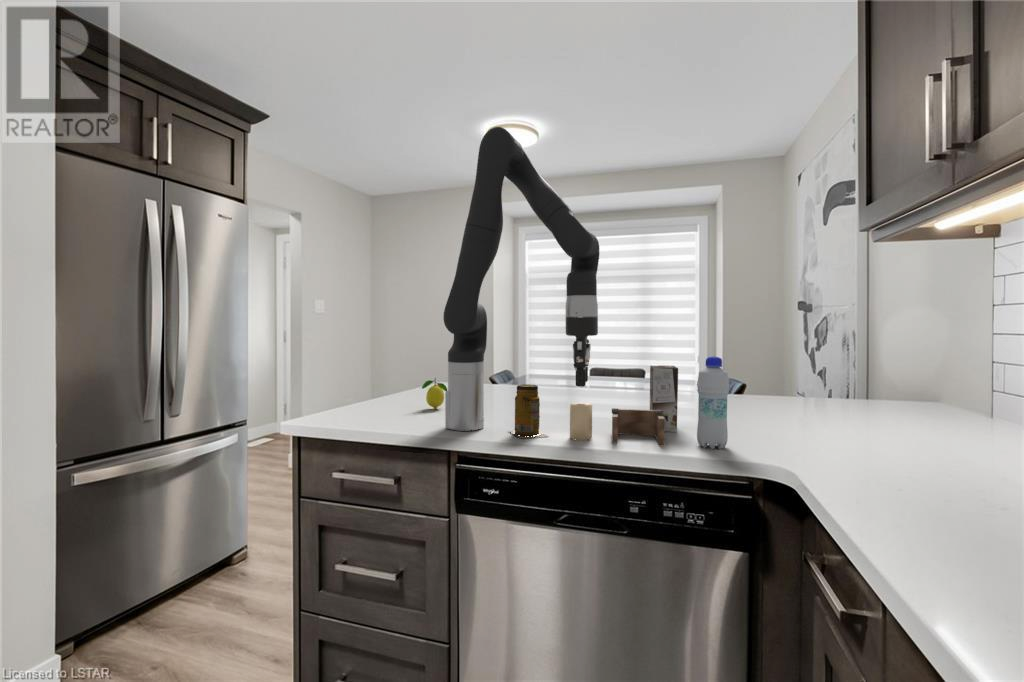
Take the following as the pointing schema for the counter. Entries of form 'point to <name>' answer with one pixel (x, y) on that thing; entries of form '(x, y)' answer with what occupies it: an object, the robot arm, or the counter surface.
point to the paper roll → (581, 421)
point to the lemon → (435, 393)
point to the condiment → (527, 412)
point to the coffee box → (665, 394)
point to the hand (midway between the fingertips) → (581, 384)
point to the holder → (638, 423)
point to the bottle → (712, 404)
